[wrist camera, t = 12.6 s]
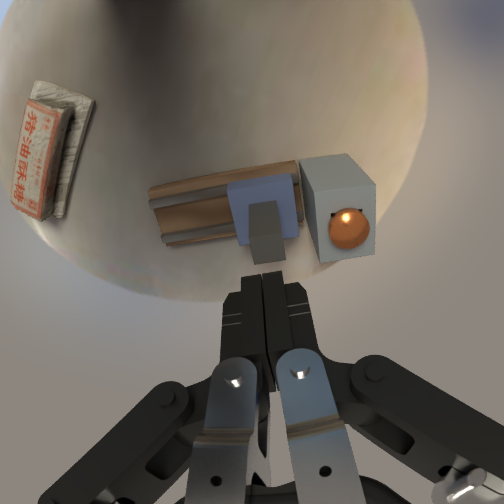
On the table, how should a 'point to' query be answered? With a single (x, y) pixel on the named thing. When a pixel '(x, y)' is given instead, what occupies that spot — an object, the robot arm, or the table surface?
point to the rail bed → (208, 203)
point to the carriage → (264, 215)
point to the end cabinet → (336, 201)
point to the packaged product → (48, 149)
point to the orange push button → (348, 228)
